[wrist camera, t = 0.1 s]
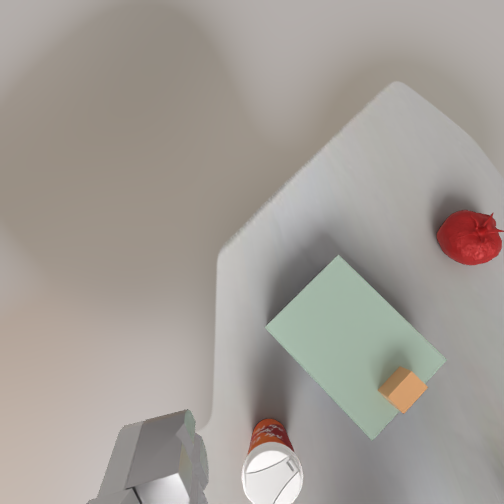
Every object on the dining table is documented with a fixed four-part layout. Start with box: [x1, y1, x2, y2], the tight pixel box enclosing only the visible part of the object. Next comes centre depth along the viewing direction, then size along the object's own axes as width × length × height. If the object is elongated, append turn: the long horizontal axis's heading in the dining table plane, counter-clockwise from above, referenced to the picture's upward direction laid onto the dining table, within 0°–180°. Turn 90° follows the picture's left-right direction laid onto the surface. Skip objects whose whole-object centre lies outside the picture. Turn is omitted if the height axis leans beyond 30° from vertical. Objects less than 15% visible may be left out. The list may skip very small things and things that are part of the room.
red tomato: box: [437, 210, 504, 265], centre depth 58 cm, size 10×10×9 cm
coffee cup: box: [242, 419, 303, 504], centre depth 51 cm, size 8×8×15 cm
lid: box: [265, 255, 447, 441], centre depth 50 cm, size 23×17×5 cm
